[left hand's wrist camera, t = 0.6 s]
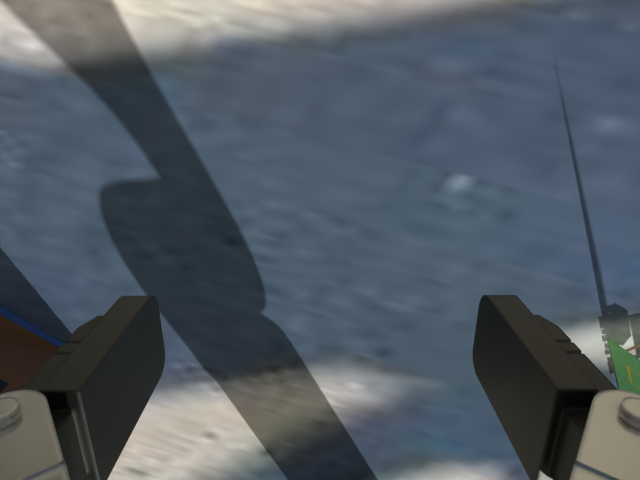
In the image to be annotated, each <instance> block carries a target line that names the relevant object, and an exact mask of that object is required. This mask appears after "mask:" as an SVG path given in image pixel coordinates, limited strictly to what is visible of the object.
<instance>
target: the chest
mask: <svg viewBox="0 0 640 480" xmlns="http://www.w3.org/2000/svg"><path fill="white" fill-rule="evenodd" d="M63 343H64V342H62V341H60V340H59V339H57V338H55V337H53V336H52V335H50V334H48V333H46V332H45V331H43V330H41V329H39V328H38V327H36V326H34V325H33V324H31V323H29V322H27V321H26V320H24V319H22V318H20V317H19V316H17V315H15V314H13V313H12V312H10V311H8V310H6V309H5V308H3V307H1V306H0V394H2V393H5V392H10V391H15V390H20V389H21V388H22V387H23V386H24V385H25V384H26V383H27V382H28V380H29V379H30V378H31V377H32V376H33V375H34V374H35V373H36V372H37V371H38V370H39V369H40V368H41V367H42V366H43V365H44V364H45V362H46V361H47V360H48V359H49V358H50V357H51V356H52V355H55V352H56V351H57V350H58V349H59V348H60V347H61V346H62V344H63Z"/></svg>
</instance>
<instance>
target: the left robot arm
mask: <svg viewBox="0 0 640 480" xmlns="http://www.w3.org/2000/svg"><path fill="white" fill-rule="evenodd" d="M164 362H165V349H164V342H163V335H162V328H161V321H160V314H159V307H158V302H157V300H156V298H155V297H154V296H121V297H120V298H119V299H118V300H117V301H116V302H115V303H114V305H113V306H112V307H111V308H110V309H109V310H108V311H107V312H106V314H105V315H104V316H97V317H95V318H94V319H92V320H90V321H89V322H87V323H85V324H84V325H82V326H80V327H79V328H78V329H77V330H76V331H75V332H74V333H73V334H72V335H71V336H70V337H69V338H68V339H67V340H66V343H63V344H62V346H61V347H60V348H59V349H58V350H57V351H56V352H55V355H52V356H51V357H50V358H49V359H48V360H47V361H46V362H45V364H44V365H43V366H42V367H41V368H40V369H39V370H38V371H37V372H36V373H35V374H34V375H33V376H32V377H31V378H30V379H29V380H28V382H27V383H26V384H25V385H24V386H23V387H22V388H21V389H20V390H15V391H10V392H5V393H2V394H0V480H107V479H108V477H109V475H110V473H111V471H112V469H113V467H114V465H115V464H116V462H117V460H118V458H119V456H120V454H121V452H122V450H123V448H124V446H125V444H126V442H127V441H128V439H129V437H130V435H131V433H132V431H133V429H134V427H135V425H136V423H137V421H138V420H139V418H140V416H141V414H142V412H143V410H144V408H145V406H146V404H147V402H148V400H149V398H150V397H151V395H152V393H153V391H154V389H155V387H156V385H157V383H158V381H159V379H160V377H161V375H162V372H163V368H164ZM473 364H474V369H475V373H476V375H477V377H478V379H479V381H480V383H481V385H482V387H483V389H484V391H485V393H486V395H487V397H488V399H489V401H490V402H491V404H492V406H493V408H494V410H495V412H496V414H497V416H498V418H499V420H500V422H501V424H502V426H503V428H504V430H505V432H506V433H507V435H508V437H509V439H510V441H511V443H512V445H513V447H514V449H515V451H516V453H517V455H518V457H519V459H520V461H521V463H522V464H523V466H524V468H525V470H526V472H527V474H528V476H529V478H530V480H640V394H638V393H634V392H630V391H625V390H617V389H616V388H615V386H614V385H613V384H612V383H611V382H610V381H609V380H608V379H607V378H606V377H605V376H604V375H603V374H602V373H601V372H600V370H599V369H598V368H597V367H596V366H595V365H594V364H593V363H592V362H591V361H590V360H589V359H588V358H587V357H586V356H585V354H582V353H581V350H580V349H579V348H578V347H577V346H576V345H575V344H574V343H571V339H570V338H569V337H568V336H567V335H566V334H565V333H564V332H563V331H562V330H561V329H560V328H559V327H558V326H557V325H555V324H553V323H552V322H550V321H548V320H547V319H545V318H543V317H541V316H540V315H533V314H532V313H531V312H530V310H529V309H528V308H527V307H526V306H525V305H524V304H523V302H522V301H521V300H520V299H519V298H518V297H517V296H515V295H484V296H483V297H482V298H481V300H480V304H479V310H478V317H477V324H476V331H475V338H474V346H473Z"/></svg>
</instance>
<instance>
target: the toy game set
mask: <svg viewBox="0 0 640 480" xmlns="http://www.w3.org/2000/svg"><path fill="white" fill-rule="evenodd" d="M608 341H609V346H610V350H611V355H612V359H613V364H614V368H615V372H616V377H617V381H618V386H619V390H625V391H630V392H634V393H638V394H640V360H639V359H638V358H636V357H635V356H633V355H632V354H630V353H629V351H631V350H633V349H635V348H638V347H640V344H638V345H635V346H633V347H631V348H629V349H626V350H625V349H623V348H622V347H620V346H619V345H617V344H616V343H614V342H613V341H611V340H610V339H609V338H608Z"/></svg>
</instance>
